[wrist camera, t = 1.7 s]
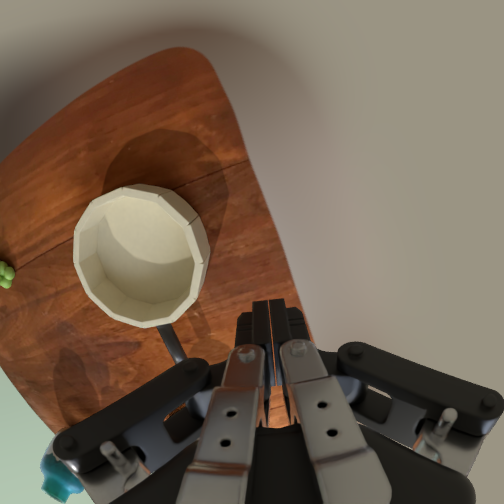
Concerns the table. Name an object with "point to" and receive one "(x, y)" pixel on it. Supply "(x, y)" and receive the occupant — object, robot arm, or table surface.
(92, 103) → the table surface
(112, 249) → the pan
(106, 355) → the table surface
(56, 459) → the vase
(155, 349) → the table surface
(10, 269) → the grapes
